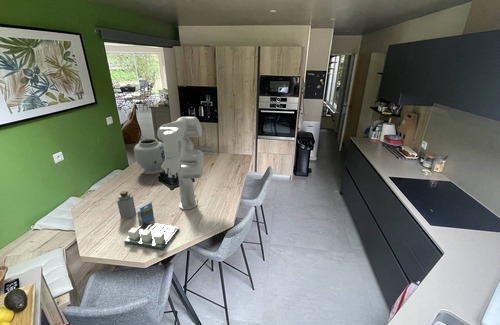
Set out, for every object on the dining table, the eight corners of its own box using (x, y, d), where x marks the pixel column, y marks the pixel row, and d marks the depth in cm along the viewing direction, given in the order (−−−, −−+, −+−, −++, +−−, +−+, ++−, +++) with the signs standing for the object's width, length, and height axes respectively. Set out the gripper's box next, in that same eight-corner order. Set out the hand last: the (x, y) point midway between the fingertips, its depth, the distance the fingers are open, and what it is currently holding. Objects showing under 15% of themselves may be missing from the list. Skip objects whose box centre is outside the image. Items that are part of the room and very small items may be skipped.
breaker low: (134, 234, 139) (132, 227, 137) (140, 235, 138) (138, 228, 136) (129, 238, 135) (127, 231, 133) (135, 240, 134) (134, 232, 132)
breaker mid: (146, 236, 137) (144, 229, 135) (152, 237, 136) (151, 230, 134) (141, 241, 133) (140, 233, 131) (148, 242, 133) (146, 234, 131)
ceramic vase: (171, 172, 224) (167, 142, 213) (141, 179, 210) (135, 147, 199) (163, 163, 244) (159, 135, 233) (135, 169, 230) (129, 139, 219)
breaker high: (158, 238, 135) (157, 231, 134) (165, 239, 135) (164, 232, 133) (154, 243, 132) (153, 236, 130) (161, 244, 131) (160, 237, 129)
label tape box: (150, 216, 159) (147, 200, 154) (154, 218, 157) (151, 202, 152) (138, 223, 152) (135, 206, 147) (143, 225, 150) (139, 208, 145)
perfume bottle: (126, 212, 162) (121, 189, 156) (136, 213, 162) (131, 189, 156) (121, 218, 156) (115, 194, 149) (131, 218, 156) (126, 194, 149)
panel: (144, 224, 151) (143, 220, 150) (179, 230, 146) (178, 226, 145) (124, 243, 134) (123, 239, 133) (163, 250, 130) (162, 246, 129)
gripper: (173, 148, 138) (177, 176, 146) (157, 157, 125) (162, 188, 132) (185, 149, 136) (188, 178, 144) (170, 159, 123) (174, 190, 131)
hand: (175, 182), depth 138 cm, fingers closed
